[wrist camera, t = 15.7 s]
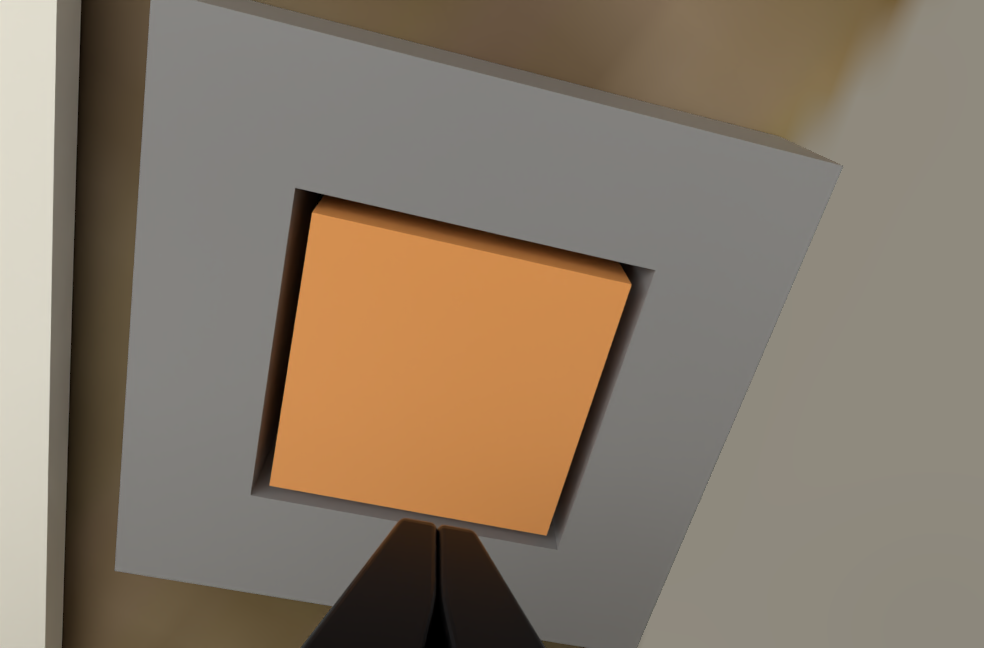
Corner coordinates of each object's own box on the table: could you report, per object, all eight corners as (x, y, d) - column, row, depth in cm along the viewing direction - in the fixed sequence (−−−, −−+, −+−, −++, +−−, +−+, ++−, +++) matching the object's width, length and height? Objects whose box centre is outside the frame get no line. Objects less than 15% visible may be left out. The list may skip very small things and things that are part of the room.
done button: (607, 242, 14) (631, 284, 12) (536, 466, 16) (546, 535, 14) (335, 179, 13) (311, 211, 11) (295, 420, 15) (269, 485, 13)
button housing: (780, 136, 14) (843, 166, 11) (611, 567, 17) (633, 654, 15) (210, -11, 12) (150, -11, 10) (164, 488, 16) (114, 571, 14)
